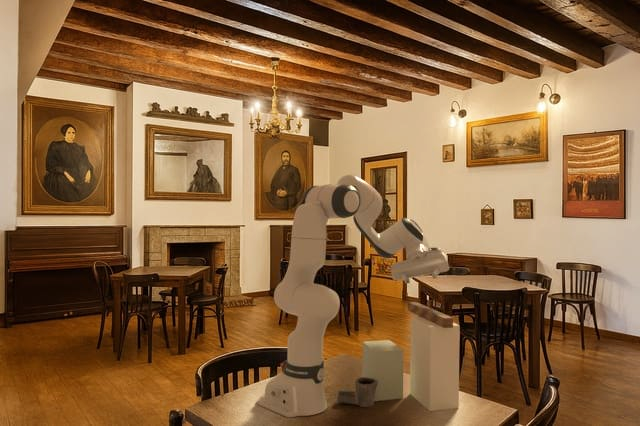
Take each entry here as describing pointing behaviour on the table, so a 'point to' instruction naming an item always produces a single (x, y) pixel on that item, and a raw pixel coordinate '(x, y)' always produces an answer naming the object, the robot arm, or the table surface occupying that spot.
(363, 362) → the low stool
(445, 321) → the walnut bar
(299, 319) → the robot arm
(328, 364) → the table surface
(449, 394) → the tall stand
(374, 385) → the pipe
